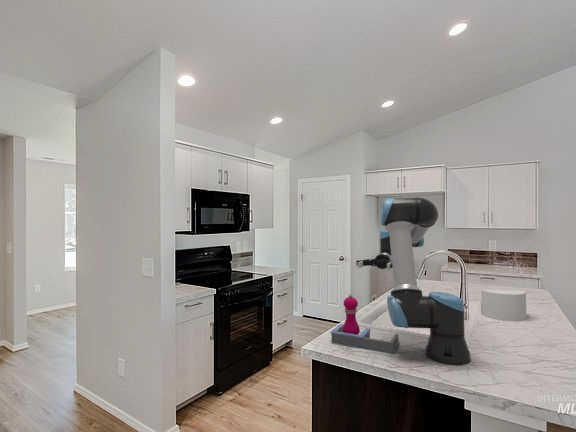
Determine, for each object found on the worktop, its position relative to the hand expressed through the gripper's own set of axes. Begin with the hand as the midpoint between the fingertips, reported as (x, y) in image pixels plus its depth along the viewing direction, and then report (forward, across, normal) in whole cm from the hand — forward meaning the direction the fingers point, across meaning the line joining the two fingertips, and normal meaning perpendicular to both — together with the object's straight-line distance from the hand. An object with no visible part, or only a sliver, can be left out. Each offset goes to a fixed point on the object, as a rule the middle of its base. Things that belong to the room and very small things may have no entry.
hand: (372, 266), depth 154 cm
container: (-53, -54, -30) cm, 82 cm away
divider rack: (+15, 0, -30) cm, 34 cm away
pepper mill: (+15, +6, -30) cm, 34 cm away
